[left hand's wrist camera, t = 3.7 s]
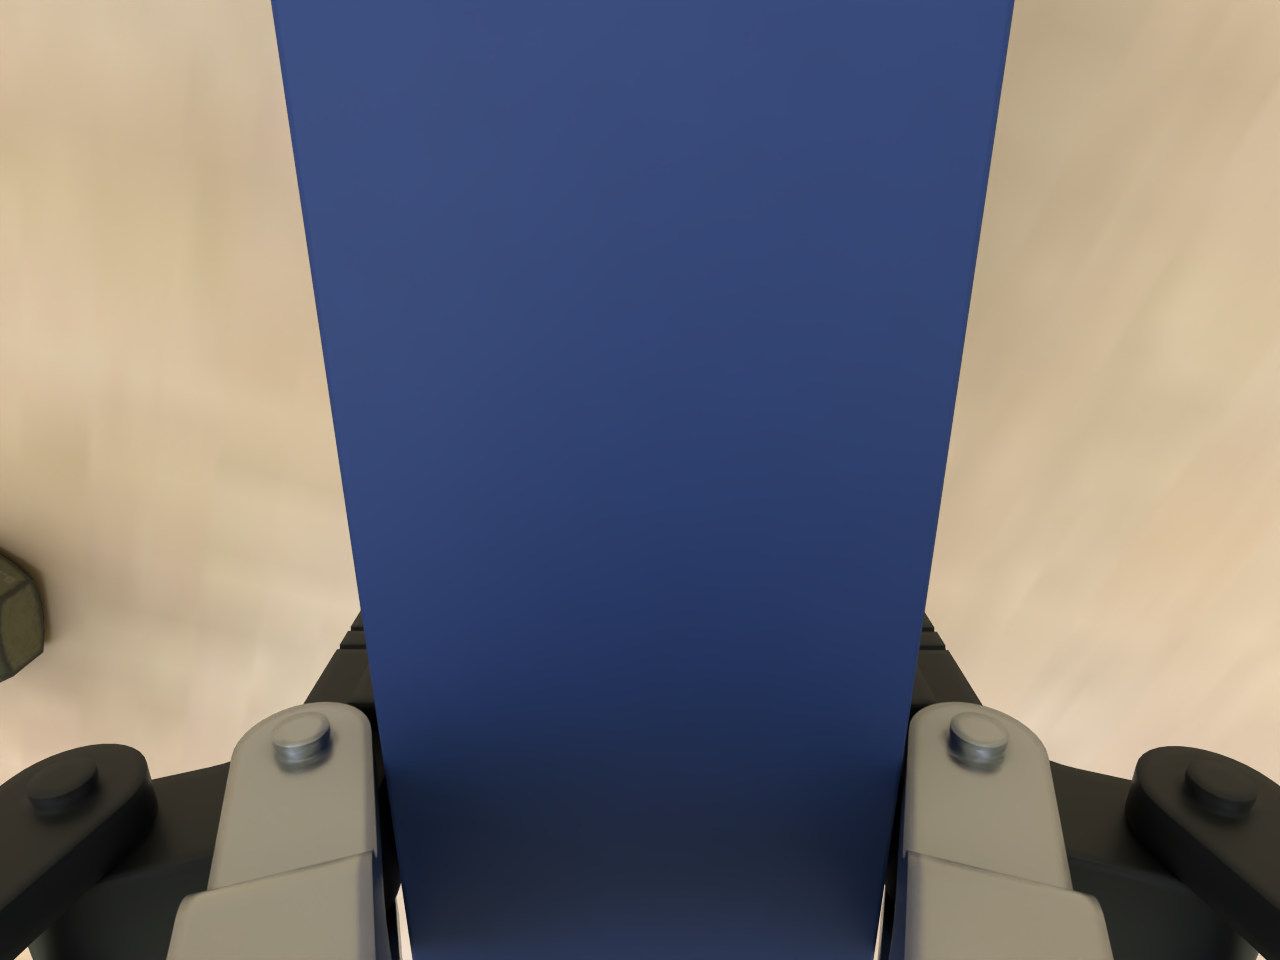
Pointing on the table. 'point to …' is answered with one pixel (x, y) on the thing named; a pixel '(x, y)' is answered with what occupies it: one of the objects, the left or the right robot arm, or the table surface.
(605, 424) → the bar
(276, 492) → the table surface
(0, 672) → the grenade
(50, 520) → the table surface
